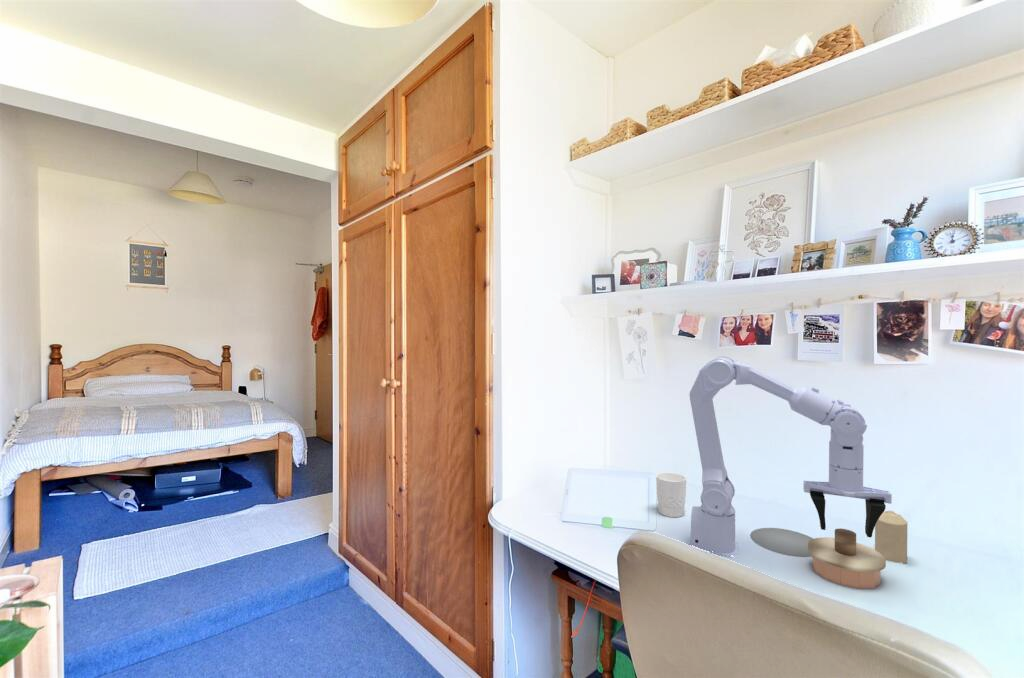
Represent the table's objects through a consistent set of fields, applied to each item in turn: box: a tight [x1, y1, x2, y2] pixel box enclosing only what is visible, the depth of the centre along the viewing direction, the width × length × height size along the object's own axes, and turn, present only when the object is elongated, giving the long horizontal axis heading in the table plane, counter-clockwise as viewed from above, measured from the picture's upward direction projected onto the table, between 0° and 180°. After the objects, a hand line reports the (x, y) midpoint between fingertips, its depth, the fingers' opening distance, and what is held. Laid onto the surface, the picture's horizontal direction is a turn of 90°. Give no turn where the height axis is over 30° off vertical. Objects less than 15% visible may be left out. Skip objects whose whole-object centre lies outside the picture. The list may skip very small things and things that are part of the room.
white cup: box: [655, 471, 687, 518], centre depth 129 cm, size 8×8×10 cm
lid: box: [808, 528, 887, 572], centre depth 96 cm, size 13×13×5 cm
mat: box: [749, 527, 814, 558], centre depth 110 cm, size 15×15×1 cm
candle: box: [874, 510, 908, 565], centre depth 103 cm, size 6×6×10 cm
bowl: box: [812, 556, 881, 589], centre depth 96 cm, size 11×11×4 cm
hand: (845, 531), depth 96 cm, fingers open, 7 cm apart
